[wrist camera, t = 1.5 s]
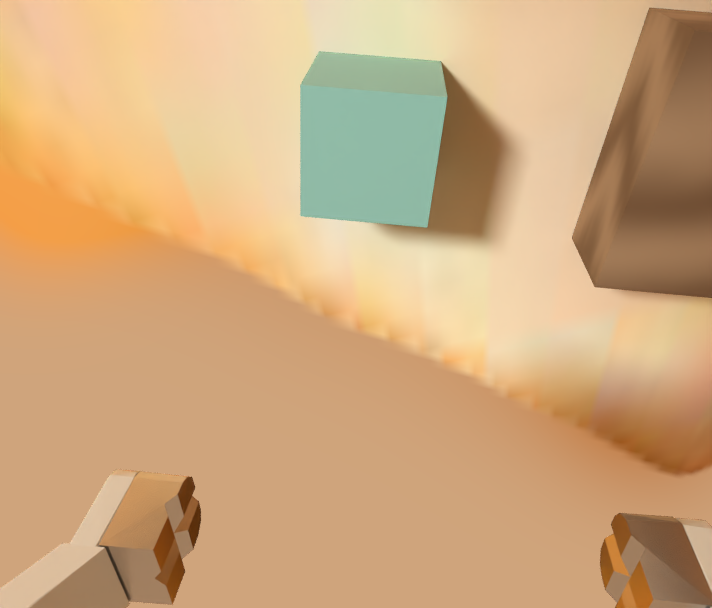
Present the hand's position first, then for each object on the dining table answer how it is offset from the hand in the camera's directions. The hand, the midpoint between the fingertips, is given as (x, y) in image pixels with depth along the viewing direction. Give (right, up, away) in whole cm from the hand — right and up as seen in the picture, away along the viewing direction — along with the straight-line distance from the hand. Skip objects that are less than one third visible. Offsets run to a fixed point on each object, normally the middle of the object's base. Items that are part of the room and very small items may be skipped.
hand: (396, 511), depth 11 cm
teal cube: (0, +14, +18) cm, 23 cm away
